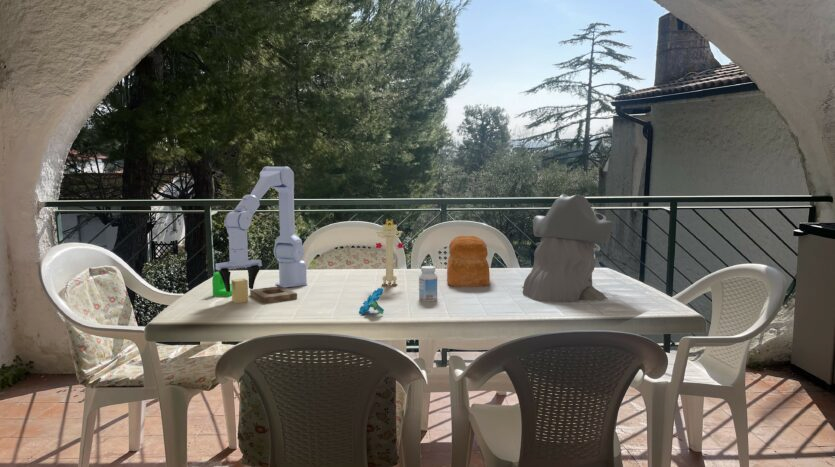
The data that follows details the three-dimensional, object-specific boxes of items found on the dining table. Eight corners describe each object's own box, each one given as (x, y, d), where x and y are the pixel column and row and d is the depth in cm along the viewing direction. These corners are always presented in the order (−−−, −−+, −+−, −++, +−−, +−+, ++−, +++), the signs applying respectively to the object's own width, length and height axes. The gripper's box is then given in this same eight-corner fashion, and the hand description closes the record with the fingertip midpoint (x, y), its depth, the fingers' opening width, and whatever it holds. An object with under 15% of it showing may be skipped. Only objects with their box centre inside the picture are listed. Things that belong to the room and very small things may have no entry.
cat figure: (375, 287, 217) (375, 219, 214) (376, 282, 225) (376, 217, 222) (403, 287, 217) (403, 219, 214) (403, 282, 226) (403, 217, 223)
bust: (631, 295, 207) (636, 194, 203) (584, 313, 182) (589, 198, 178) (545, 281, 230) (548, 190, 226) (494, 295, 205) (496, 194, 201)
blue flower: (356, 306, 184) (378, 282, 185) (370, 318, 186) (392, 295, 186) (358, 315, 174) (381, 290, 174) (373, 328, 175) (396, 303, 175)
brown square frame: (281, 291, 209) (280, 286, 209) (297, 299, 198) (297, 293, 198) (250, 295, 203) (250, 289, 203) (265, 303, 192) (265, 297, 191)
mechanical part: (229, 297, 201) (228, 274, 200) (212, 296, 202) (212, 273, 201) (246, 289, 213) (245, 267, 212) (231, 289, 214) (230, 267, 213)
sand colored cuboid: (244, 299, 198) (243, 278, 197) (248, 301, 194) (247, 280, 194) (232, 300, 195) (231, 279, 195) (235, 303, 192) (235, 281, 191)
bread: (447, 288, 216) (447, 241, 214) (446, 275, 242) (447, 233, 240) (490, 289, 216) (491, 242, 214) (485, 275, 242) (486, 233, 240)
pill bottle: (439, 299, 199) (439, 266, 198) (434, 303, 194) (434, 269, 192) (422, 297, 201) (422, 264, 200) (416, 301, 196) (416, 267, 194)
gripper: (255, 245, 200) (256, 285, 202) (212, 248, 192) (213, 290, 193) (263, 247, 195) (264, 288, 196) (219, 251, 186) (220, 294, 188)
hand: (239, 289), depth 194 cm, fingers open, 7 cm apart
